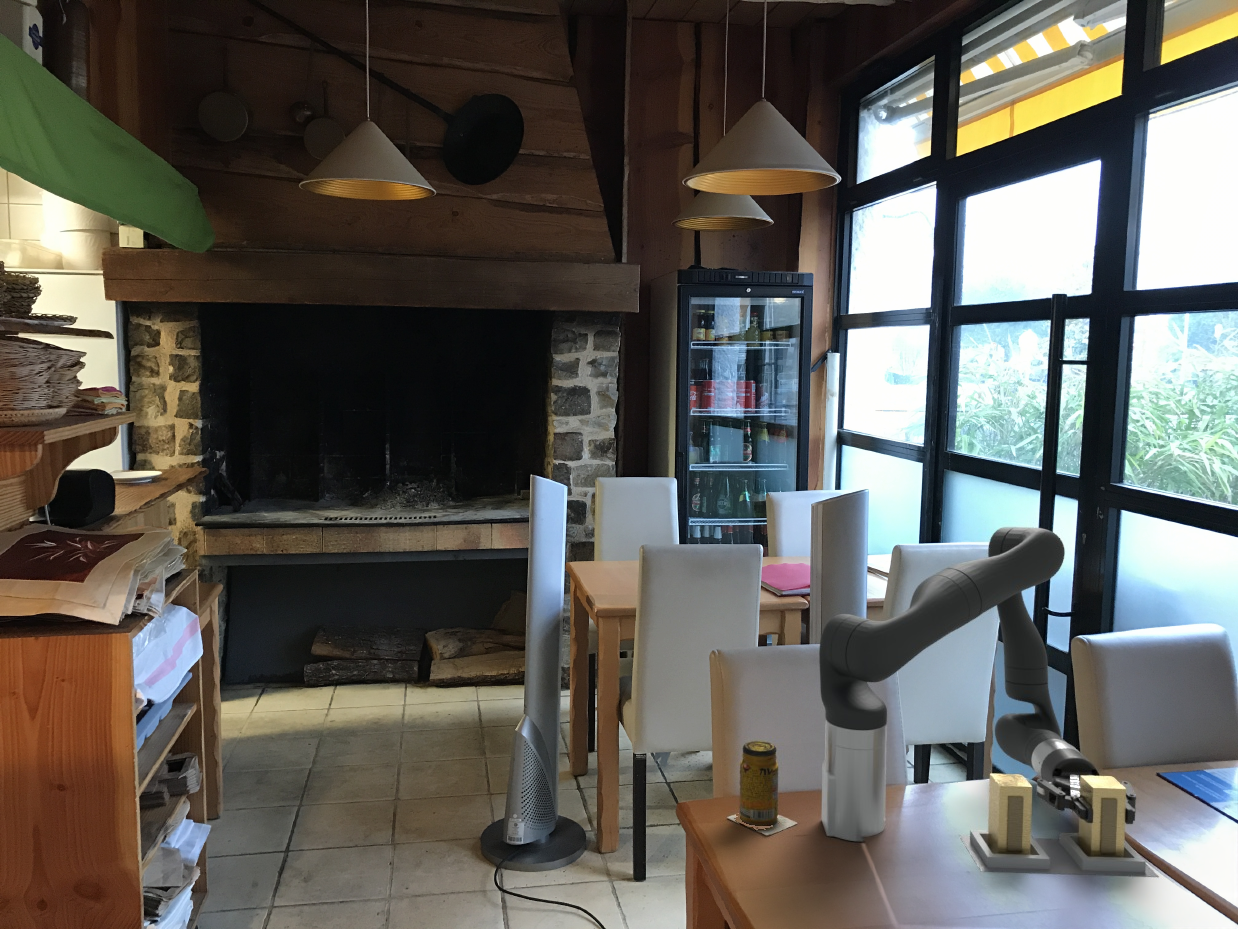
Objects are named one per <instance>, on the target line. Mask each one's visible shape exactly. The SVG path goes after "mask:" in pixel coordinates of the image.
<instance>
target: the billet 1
mask: <svg viewBox="0 0 1238 929" xmlns="http://www.w3.org/2000/svg"><path fill="white" fill-rule="evenodd" d="M988 792H989V795H988V827H987V831H988V847H989V849H990V850H991V852H992V853H993V854H1015V855H1030V844H1031V835H1032V812H1033V811H1032V809H1033V808H1032V807H1033V806H1032V804H1033V786H1032V784H1030V782H1029V781H1028V780H1027V779H1026V778H1025V777H1024V775H1023V774H1022V773H1021V774H1020V773H989V790H988Z"/></svg>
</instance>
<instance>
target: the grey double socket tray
mask: <svg viewBox="0 0 1238 929" xmlns="http://www.w3.org/2000/svg"><path fill="white" fill-rule="evenodd" d="M969 832H970V833H969V835H959V838H960V840H961V842H962V843H963V845H964V846H965V848H966V850H967V852H968V853H969V855H970V856H971V858H972V859H973V861H974V862H975V864H976V865H977V868H978V869H979V870H980V872H982V873H987V872H988V873H1012V874H1013V873H1014V874H1015V873H1016V874H1047V875H1049V874H1050V875H1078V876H1079V875H1080V876H1081V875H1082V876H1109V877H1139V878H1140V877H1143V878H1146V877H1147V878H1159V877H1160V876H1159V875H1158V874H1157V873H1156V872H1155V871H1154V870H1153V869H1152V868H1151V867H1150V866H1149V865H1148V864H1147V862H1146V860H1145V859H1144V858H1143V857H1142V856H1141V855H1140V854H1139V853H1138V852H1137V851H1136V850H1135V849H1134V848H1133V847H1132V846H1131V845H1130V844H1129V843H1128V842H1127V841H1126V839H1124V858H1116V857H1087V856H1086V854H1085V853H1084V852H1083V851H1082V850H1081V849H1080V848H1079V846H1078V840H1079V832H1059V838H1050V837H1049V838H1048V837H1047V838H1046V837H1043V838H1041V837H1033V835H1032V834H1031V844H1030V855H1015V854H993V853H992V852H991V850H990V849H989V847H988V830H977V829H975V830H974V829H971V830H969Z"/></svg>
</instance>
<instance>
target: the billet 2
mask: <svg viewBox="0 0 1238 929" xmlns="http://www.w3.org/2000/svg"><path fill="white" fill-rule="evenodd" d="M1080 798H1083V799H1084V800H1085V801H1086V802H1087V803H1088V804H1089V805H1090V806H1091V807H1092V808H1093V823H1086V821H1085V820H1084V819H1081V818H1079V817H1078V833H1079V840H1078V846H1079V848H1080V849H1081V850H1082V851H1083V852H1084V853H1085V854H1086V856H1087V857H1116V858H1124V840H1125V836H1126V835H1125V833H1126V832H1125V831H1126V823H1125V809H1126V788H1125V787H1124V786H1123V785H1122V784H1121V782H1119V781H1118V780H1117V779H1116V778H1115V777H1114V776H1110V775H1100V776H1080Z"/></svg>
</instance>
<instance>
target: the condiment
mask: <svg viewBox="0 0 1238 929" xmlns="http://www.w3.org/2000/svg"><path fill="white" fill-rule="evenodd" d="M741 757H742V760H741V761H740V764H739V807H738V808H739V813H740V819H741V820H742V822H744V823H746V824H749V825H755V826H771V825H773V827H770V828H765V829H766V830H764V829H758V830H756V831H755V830H754V828H753V827H748V828H750V829H751V830H753V831H755V832H757V833H762V834H763V835H765V836H770V835H774V834H776V833H779V832H781V831H783V830H787V828H790V827H793V826H795V825H797V824H798V822H796V821H795V820H791V819H789V818H788V817H785V816H783V815H781V814H779V812H778V811H779V764H778V762H777V747H776V745H775V744H773V743H771V742H768V741H763V740H753V741H748V742H745V744H743V746H742V756H741ZM736 814H737V813H735V814H732V815H730V816H727V817H726V818H727V819H729V820H731V821H733V822H734V823H737V824H739V823H738V822H736V821H735V820H736V819H734V818H736V817H738V816H736ZM777 818H778V819H777ZM737 821H738V820H737ZM778 821H779V822H780V823H779V822H778ZM778 823H779V824H778Z"/></svg>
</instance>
